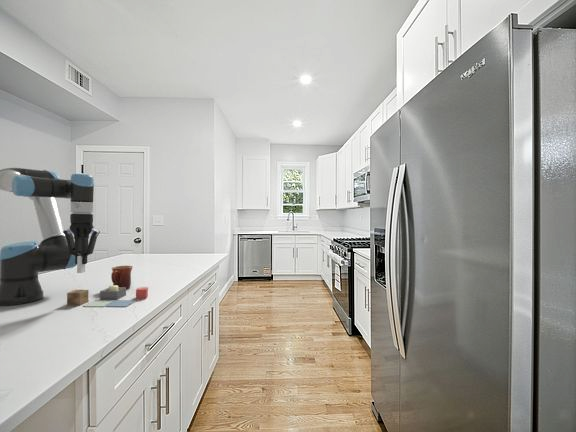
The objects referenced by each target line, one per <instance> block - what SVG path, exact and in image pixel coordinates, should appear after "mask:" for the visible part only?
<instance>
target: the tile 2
mask: <svg viewBox="0 0 576 432" xmlns="http://www.w3.org/2000/svg"><path fill="white" fill-rule="evenodd" d="M135 302H137V299H118V300H115V301H114V302H112V303H110V304H108V305H106V306H105V307H106V308H127V307H129V306H131V305H132V304H133V303H135Z"/></svg>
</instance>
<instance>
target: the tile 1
mask: <svg viewBox="0 0 576 432" xmlns="http://www.w3.org/2000/svg"><path fill="white" fill-rule="evenodd" d="M114 301H116V300H100V299H94V300H93V301H91V302H87V303H85V304H83V305H82V307H83V308H85V307H86V308H90V307H91V308H104V307H105V306H106V305H108V304H110V303H112V302H114Z"/></svg>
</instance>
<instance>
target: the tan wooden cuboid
mask: <svg viewBox="0 0 576 432" xmlns="http://www.w3.org/2000/svg"><path fill="white" fill-rule="evenodd" d="M88 303H89V289H74V290H71V291H69V292H66V306H69V307H72V306H73V307H75V306H78V307H79V306H84V305H86V304H88Z"/></svg>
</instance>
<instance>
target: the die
mask: <svg viewBox="0 0 576 432" xmlns="http://www.w3.org/2000/svg"><path fill="white" fill-rule="evenodd" d="M148 293H149V287H148V286H141V287H137V288H136V289H135V300H146V299H148V296H149V295H148Z"/></svg>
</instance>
